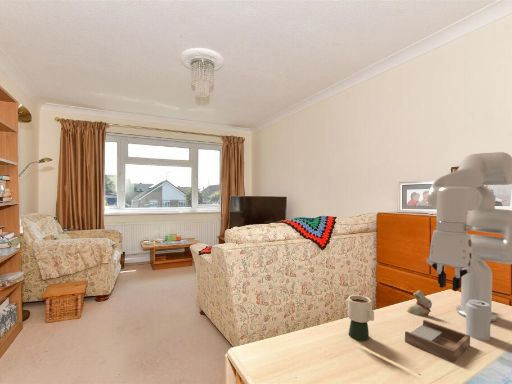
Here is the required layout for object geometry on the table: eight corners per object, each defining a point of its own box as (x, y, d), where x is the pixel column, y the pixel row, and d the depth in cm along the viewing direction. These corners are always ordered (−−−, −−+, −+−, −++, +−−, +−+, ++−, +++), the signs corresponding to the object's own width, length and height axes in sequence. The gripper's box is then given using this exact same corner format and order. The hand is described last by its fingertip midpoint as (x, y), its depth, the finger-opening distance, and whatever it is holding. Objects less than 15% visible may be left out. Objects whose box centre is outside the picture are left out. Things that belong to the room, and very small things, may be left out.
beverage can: (494, 344, 89) (495, 307, 89) (471, 342, 90) (472, 305, 90) (482, 334, 95) (483, 299, 95) (461, 332, 97) (462, 297, 97)
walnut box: (424, 331, 97) (424, 319, 97) (469, 348, 86) (470, 335, 86) (404, 344, 88) (405, 332, 88) (453, 365, 78) (453, 351, 78)
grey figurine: (427, 321, 104) (428, 294, 104) (405, 314, 110) (405, 288, 110) (432, 317, 108) (433, 291, 108) (410, 310, 114) (411, 285, 114)
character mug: (380, 344, 88) (381, 303, 88) (364, 350, 84) (365, 307, 84) (353, 329, 97) (354, 291, 97) (338, 333, 94) (339, 294, 94)
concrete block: (422, 330, 95) (422, 324, 95) (442, 338, 90) (442, 332, 90) (408, 339, 89) (409, 333, 89) (429, 348, 84) (429, 341, 84)
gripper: (488, 230, 81) (486, 294, 81) (426, 223, 93) (424, 279, 94) (480, 232, 76) (478, 299, 76) (416, 225, 89) (415, 283, 89)
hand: (449, 287), depth 85 cm, fingers closed
